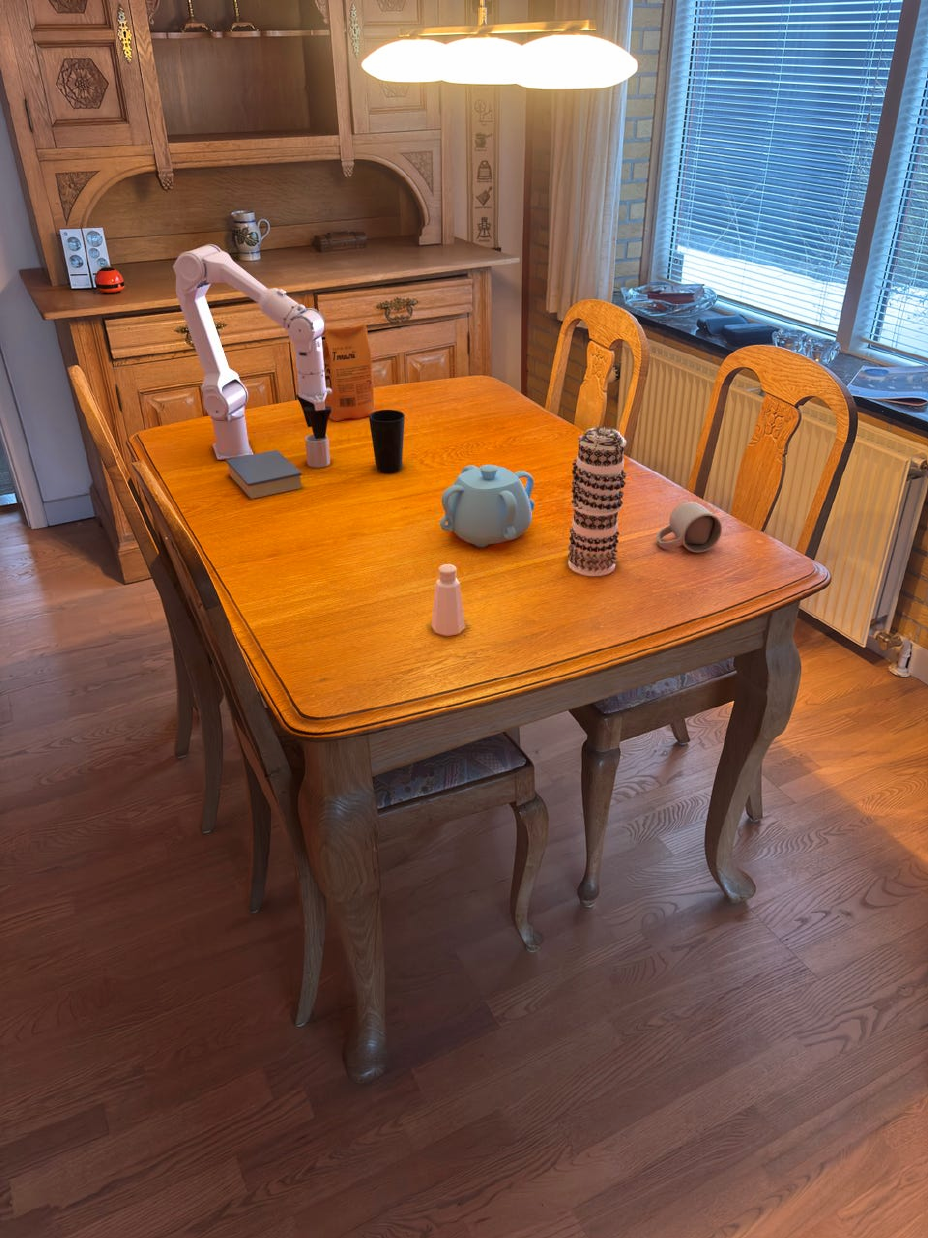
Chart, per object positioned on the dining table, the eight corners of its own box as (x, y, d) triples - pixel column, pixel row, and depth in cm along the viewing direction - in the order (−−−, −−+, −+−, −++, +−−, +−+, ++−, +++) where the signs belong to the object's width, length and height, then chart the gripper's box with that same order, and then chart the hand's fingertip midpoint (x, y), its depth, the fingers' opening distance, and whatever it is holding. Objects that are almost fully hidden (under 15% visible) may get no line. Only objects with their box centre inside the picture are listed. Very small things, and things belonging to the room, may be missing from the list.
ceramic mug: (700, 531, 178) (705, 494, 174) (719, 550, 171) (725, 512, 167) (648, 537, 176) (652, 500, 172) (666, 557, 169) (670, 519, 165)
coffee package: (319, 410, 236) (312, 322, 224) (366, 404, 240) (361, 317, 228) (330, 423, 228) (323, 333, 216) (378, 416, 232) (374, 327, 221)
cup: (409, 462, 207) (407, 410, 201) (403, 475, 201) (401, 422, 195) (375, 460, 208) (372, 408, 202) (368, 474, 202) (365, 421, 195)
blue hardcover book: (227, 475, 201) (225, 459, 199) (278, 464, 206) (277, 449, 204) (250, 499, 191) (247, 483, 189) (303, 488, 195) (301, 472, 194)
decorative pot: (510, 560, 168) (513, 491, 161) (431, 543, 174) (430, 475, 167) (542, 524, 181) (545, 458, 174) (467, 509, 187) (467, 445, 179)
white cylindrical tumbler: (305, 460, 208) (303, 435, 205) (327, 457, 210) (325, 432, 206) (310, 469, 204) (307, 443, 201) (332, 465, 206) (330, 440, 202)
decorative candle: (555, 562, 168) (562, 430, 154) (592, 548, 172) (602, 418, 159) (590, 582, 162) (601, 446, 148) (627, 567, 166) (642, 433, 153)
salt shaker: (450, 614, 153) (449, 555, 147) (472, 628, 149) (472, 568, 143) (424, 626, 150) (422, 566, 144) (446, 640, 146) (445, 579, 140)
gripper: (337, 378, 191) (341, 441, 198) (321, 359, 203) (326, 418, 210) (303, 382, 189) (309, 445, 196) (289, 362, 201) (295, 422, 208)
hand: (316, 432), depth 203 cm, fingers open, 7 cm apart
